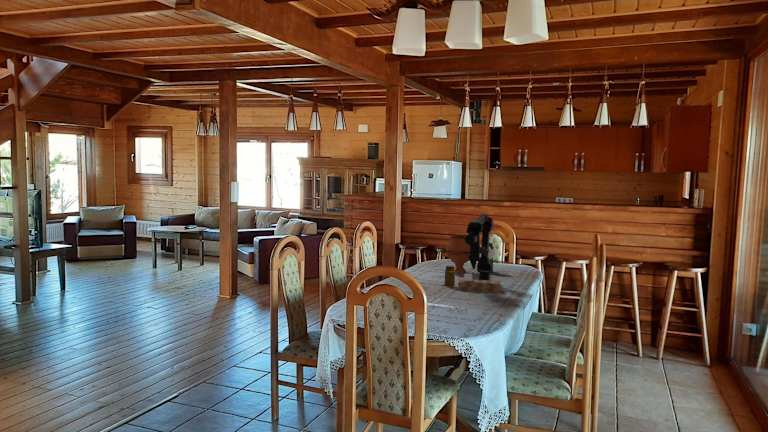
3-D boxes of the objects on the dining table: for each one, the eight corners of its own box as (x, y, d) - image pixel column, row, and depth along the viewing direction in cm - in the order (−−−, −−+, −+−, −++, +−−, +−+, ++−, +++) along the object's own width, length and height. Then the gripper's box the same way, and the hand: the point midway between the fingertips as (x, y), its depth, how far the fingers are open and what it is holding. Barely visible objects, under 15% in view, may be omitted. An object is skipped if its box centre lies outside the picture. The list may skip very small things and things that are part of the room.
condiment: (457, 286, 348) (458, 266, 347) (446, 287, 344) (447, 267, 343) (449, 284, 354) (450, 265, 353) (439, 285, 350) (439, 266, 349)
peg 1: (464, 282, 338) (464, 274, 338) (464, 280, 342) (464, 273, 342) (471, 282, 337) (471, 275, 337) (472, 281, 341) (472, 273, 341)
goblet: (452, 275, 384) (452, 238, 382) (441, 270, 403) (442, 234, 401) (478, 274, 389) (479, 237, 387) (466, 269, 408) (467, 234, 406)
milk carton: (488, 273, 394) (489, 244, 392) (477, 271, 400) (477, 242, 398) (494, 271, 401) (495, 243, 399) (483, 269, 406) (484, 241, 405)
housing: (458, 290, 337) (458, 281, 336) (459, 287, 345) (459, 278, 345) (499, 292, 332) (500, 283, 332) (499, 289, 341) (500, 281, 340)
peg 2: (486, 290, 336) (486, 282, 335) (486, 288, 340) (486, 281, 340) (494, 290, 335) (494, 282, 334) (494, 289, 339) (494, 281, 339)
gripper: (488, 245, 326) (487, 272, 328) (488, 241, 345) (487, 267, 346) (468, 244, 328) (468, 271, 330) (469, 240, 347) (469, 266, 348)
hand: (473, 269), depth 338 cm, fingers closed
